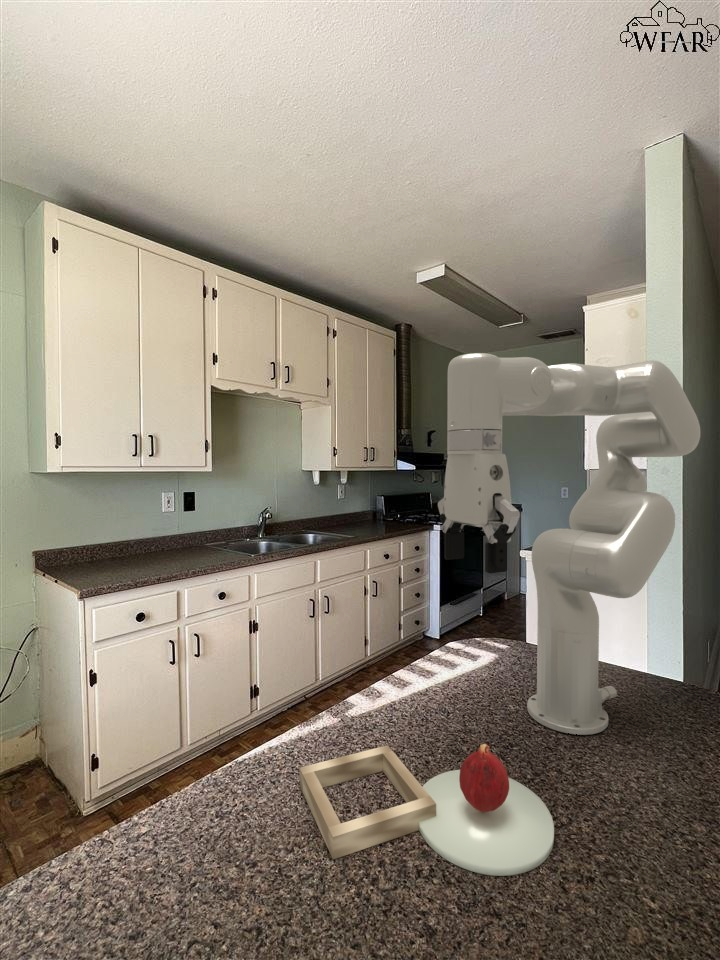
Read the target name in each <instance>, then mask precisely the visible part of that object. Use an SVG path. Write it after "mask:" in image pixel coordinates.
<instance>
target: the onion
mask: <svg viewBox="0 0 720 960" xmlns="http://www.w3.org/2000/svg"><path fill="white" fill-rule="evenodd" d="M459 770H460V776H459V782H460V788H461V790H462V792H463V795H464V797H465V799H466V800H467V801H468V802H469V804H471V805H472V806H473V807H474V808H475V809H477V810H479V811H481V812H490V811H494V810H496V809H497V808H499V807H500V806H501V805H502V804H503V803H504V802H505V800H506V798H507V796H508V792H509V779H508V778H509V775H508V771H507V769H506V766H504V763H503V762H502V761H501V760H500V758H499V757H497V755H495V754H494V753H492V752H490V746H489V745H488V744H486V743H483V744H480V746H479V749H478V750H477V751H475V752H472V753H470V754H469V755H468V756H467V757H466V758H465V759H464V760H463V762H462V764H461V766H460V769H459Z"/></svg>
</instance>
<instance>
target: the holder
mask: <svg viewBox="0 0 720 960" xmlns="http://www.w3.org/2000/svg"><path fill="white" fill-rule="evenodd" d="M381 772H383V773H384V775H385V776H386V777H387V779H388V780H389V782H390V783H391V784H392V785H393V787H394V788H395V789H396V790H397V792H398V793H399V795H400V796H401V797H402V799H403V800H404V801H405V803H402V804H399V805H395V806H393V807H388V808H386V809H383V810H380V811H376V812H373V813H371V814H366V815H364V816H360V817H358V818H354V819H351V820H348V821H345V822H342V823H341V821H340V819H339V817H338V815H337V814H336V811H335V809H334V808H333V805H332V804H331V802H330V800H329V798H328V795H327V794H326V792H325V789H323V788H327V787H330V786H334V785H338V784H341V783H344V782H348V781H352V780H355V779H359V778H362V777H366V776H370V775H374V774H377V773H381ZM299 787H300V790H301V793H302V794H303V796H304V799H305V801H306V803H307V805H308V808H309V810H310V812H311V814H312V816H313V819H314V821H315V823H316V825H317V827H318V830H319V832H320V834H321V836H322V839H323V840H324V843H325V845H326V847H327V850H328V851H329V854H330V856H331V858H332V860H336V859H338V858H339V859H340V858H342V857H345V856H348V855H351V854H353V853H357V852H359V851H362V850H366V849H368V848H372V847H374V846H377V845H381V844H382V843H386V842H389V841H391V840H394V839H397V838H400V837H404V836H407V835H408V834H412V833H415V832H418V831H419V822H420V821H423V820H426V819H429V818H432V817H435V816H436V803H435V801H434V800H433V799H432V798H431V797H430V795H429V794H428V793H427V792H426V791H425V789H424V788H423V785H421V783H420V782H419V781H418V780H417V778H415V776H414V774H412V773H411V771H410V770H409V769H408V768H407V766H406V765H405V764H404V763H403V762H402V761H401V759H400V758H399V757H398V756H397V754H396V753H395V752H394V751H393V750H392V749H391V748H390V746H389V745H388V744H387V745H383V746H378V747H375V748H371V749H367V750H363V751H360V752H355V753H352V754H347V755H344V756H340V757H336V758H333V759H328V760H325V761H321V762H317V763H313V764H309V765H306V766H300V767H299Z"/></svg>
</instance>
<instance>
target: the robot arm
mask: <svg viewBox="0 0 720 960" xmlns="http://www.w3.org/2000/svg"><path fill="white" fill-rule="evenodd" d="M504 416H506V417H508V416H509V417H510V416H537V417H538V416H540V417H559V416H566V417H569V416H592V417H593V416H594V417H595V416H596V417H598V416H599V417H600V416H602V417H605V416H606V417H607V416H610V417H607V418H605V419H604V420H603V421H602V422H601V423H600V425H599V427H598V428H597V430H596V436H595V437H596V441H595V442H596V443H595V444H596V453H597V461H598V473H597V474H596V475H595V478H594V479H593V481H592V482H591V483H590V485H589V486H588V487H587V488H586V490H585V491H584V492H583V493H582V494H581V496H580V498H578V500H577V501H576V503H575V504H574V506H573V508H572V509H571V510H570V514H569V519H568V523H569V527H570V528H561V527H560V528H552V529H548V530H545V531H544V532H542V533H540V534H539V535H538V536H537V537H536V538H535V540H534V542H533V544H532V547H531V564H532V570H533V575H534V580H535V586H536V595H537V596H536V600H537V601H536V602H537V630H536V631H537V634H536V635H537V642H536V643H537V647H536V649H537V652H536V654H537V655H536V656H537V657H536V658H537V661H536V662H537V663H536V666H537V667H536V668H537V669H536V694H535V693H534V694H533V695H531V696H529V698H528V700H527V702H526V703H527V704H526V708H527V712H528V714H529V715H530V717H532V718H533V719H534V720H535V721H536V722H537V723H538V724H540V725H542V726H544V727H546V728H548V729H551V730H554V731H556V732H560V733H564V734H568V733H569V735H570V734H571V735H576V734H577V735H578V736H579V735H580V736H582V735H583V736H587V735H589V736H590V735H595V734H598V733H601V732H604V731H605V730H606V729H607V727H608V725H609V715H608V712H607V711H606V710H605V709H604V707H603V706H602V704H603V703H604V702H605V701H606V700H610V699H614V698H616V697H617V696H618V692H617V689H616V688H615V687H614V686H613V685H607V686H604V687H601V688H600V687H599V664H600V662H599V653H600V652H599V651H600V650H599V645H600V615H599V611H598V607H597V604H596V603H595V600H594V599H593V596H592V595H591V593H593V594H597V595H601V596H605V597H611V598H616V599H628V598H632V597H634V596H636V595H637V594H638V593H639V592H640V591H641V590H642V589H644V586H645V585H646V584H647V582H648V580H649V579H650V577H651V575H652V573H653V572H654V570H655V568H656V567H657V565H658V564H659V562H660V561H661V558H662V557H663V555H664V554H665V552H666V550H667V549H668V547H669V545H670V543H671V542H672V540H673V539H672V538H673V536H674V532H675V528H676V514H675V509H674V506H673V505H672V503H671V502H670V501H669V500H668V498H667V497H665V496H663V495H661V493H660V494H659V493H656V492H654V491H653V492H652V491H647V487H648V486H647V485H648V484H647V480H646V478H645V477H644V475H643V473H642V471H641V470H640V468H639V467H637V465H635V464H634V461H633V458H676V457H677V458H678V457H683V456H686V455H689V454H690V453H692V452H693V451H695V450H696V448H697V447H698V445H699V443H700V439H701V426H700V421H699V418H698V415H697V414H696V412H695V410H694V408H693V407H692V404H691V402H690V400H689V399H688V396H687V395H686V393H685V391H684V389H683V387H682V385H681V384H680V382H679V380H678V379H677V377H676V376H675V374H674V373H673V371H672V370H671V369H670V368H668V366H667V365H666V364H664V363H663V362H661V361H658V360H645V361H639V362H633V363H627V364H621V365H616V366H602V365H601V366H600V365H591V364H582V363H574V362H573V363H572V362H571V363H560V364H553V365H547V364H546V363H545V362H543V361H542V360H541V359H538V358H534V357H528V356H521V357H518V356H517V357H499V356H497V355H494V354H493V353H485V352H475V353H474V352H472V353H465V354H464V353H463V354H461V355H458V356H456V357H454V358H452V359H451V360H450V362H449V363H448V367H447V417H446V418H447V425H446V426H447V429H446V430H447V432H446V433H447V440H446V441H447V449H446V450H447V453H446V454H447V460H446V465H445V467H446V468H445V475H444V488H443V489H444V491H443V495H444V496H443V497H442V498H441V499H440V500H439V501H438V502H437V508H438V512H439V515H440V516H439V520H440V522H441V524H442V527H441V529H442V532H443V533H444V535H443V537H444V541H443V542H444V543H443V544H444V546H443V547H444V555H443V556H444V557H443V558H444V560H447V561H451V560H454V561H455V560H462V559H464V558H465V532H464V531H462V530H463V529H464V527H465V525H466V526H471V527H478V528H482V529H483V531H484V534H485V536H486V538H487V540H488V542H485V545H484V550H485V551H484V553H485V555H484V557H485V560H484V563H485V564H484V569H485V570H484V571H485V573H488V574H498V573H506V572H507V571H508V544H509V543H511V541H512V536H513V535H514V534H515V533H516V529H517V527H516V526H517V524H518V521H519V519H520V517H521V513H520V511H519V509H517V508H516V507H515V506H514V505H512V494H511V482H510V480H511V479H510V474H509V473H510V472H509V466H508V460H507V456H506V453H503V417H504ZM494 529H496V530H494Z"/></svg>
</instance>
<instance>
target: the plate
mask: <svg viewBox="0 0 720 960" xmlns="http://www.w3.org/2000/svg"><path fill="white" fill-rule="evenodd" d="M459 776H460V769H454V770H449V771H446V772H442V773H439V774H437V775H435V776H433V777H431V778H430V779H429V780H428V781H426V782H425V783H424V784H423V785H422V787H423V788H424V789H425V791H426V792H427V793H428V794H429V795H430V797H431V798H432V799H433V800H434V801H435V803H436V816H435V817H432V818H429V819H426V820H423V821H420V822H419V830H418V831H419V833H420V834H421V836H422V838H423V840H424V841H425V842H426V844H428V845H429V847H430V848H431V849H432V850H433V851H434V852H435V853H437V854H438V855H439V856H440V857H442V858H443V859H444V860H446V861H448V862H450V863H451V864H453V865H455V866H457V867H459V868H462V869H464V870H467V871H470V872H474V873H475V874H481V875H485V876H486V875H487V876H495V877H497V876H498V877H504V876H506V877H508V876H509V877H510V876H516V875H521V874H524V873H527V872H529V871H532V870H534V869H536V868H538V867H539V866H540V865H542V864H543V863H544V862H545V861H546V860H547V859H548V857H549V856H550V854H551V853H552V851H553V847H554V843H555V842H554V841H555V823H554V820H553V816H552V815H551V813H550V810H549V809H548V807H547V805H546V804H545V803H544V802H543V801H542V798H540V797H539V796H538V795H537V794H536V793H534V792H533V791H532V790H531V789H529V788H528V787H526V785H524V784H523V783H521V782H518V781H517V780H515V779H514V778H511V777H508V779H509V792H508V796H507V798H506V800H505V802H504V803H503V804H502V805H501V806H500V807H499V808H497V809H496V810H494V811H490V812H481V811H479V810H477V809H475V808H474V807H473V806H472V805H471V804H469V802H468V801H467V800H466V799H465V797H464V795H463V792H462V790H461V788H460V782H459Z"/></svg>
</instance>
